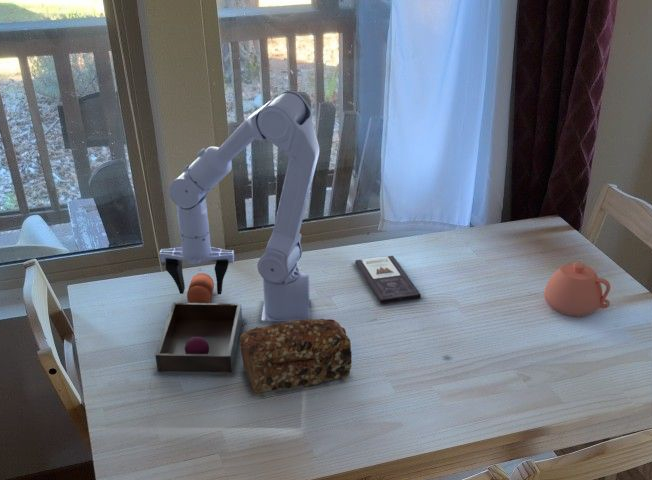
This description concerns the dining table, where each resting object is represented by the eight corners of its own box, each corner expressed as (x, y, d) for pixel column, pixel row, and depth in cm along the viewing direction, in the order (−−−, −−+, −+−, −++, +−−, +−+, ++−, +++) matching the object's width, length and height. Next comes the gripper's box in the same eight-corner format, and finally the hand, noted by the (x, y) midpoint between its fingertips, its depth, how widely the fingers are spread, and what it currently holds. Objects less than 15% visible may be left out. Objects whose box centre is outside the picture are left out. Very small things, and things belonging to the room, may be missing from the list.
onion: (211, 352, 157) (209, 332, 154) (208, 365, 153) (206, 345, 150) (188, 351, 156) (185, 332, 154) (184, 365, 153) (181, 345, 150)
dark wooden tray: (242, 321, 167) (241, 303, 164) (232, 374, 152) (230, 356, 150) (175, 320, 166) (172, 302, 164) (158, 373, 151) (155, 355, 149)
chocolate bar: (380, 299, 174) (355, 260, 187) (380, 303, 174) (355, 264, 188) (420, 294, 177) (392, 255, 190) (420, 298, 177) (392, 259, 191)
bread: (253, 398, 147) (250, 352, 141) (240, 365, 155) (236, 320, 149) (353, 380, 152) (354, 335, 146) (336, 349, 160) (336, 305, 154)
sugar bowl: (553, 286, 184) (561, 245, 178) (614, 304, 179) (624, 262, 173) (534, 311, 175) (541, 268, 169) (597, 330, 170) (607, 287, 164)
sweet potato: (193, 288, 176) (191, 268, 173) (216, 288, 176) (214, 269, 173) (186, 312, 169) (183, 291, 166) (210, 312, 169) (208, 291, 166)
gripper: (153, 240, 159) (162, 301, 168) (229, 241, 160) (234, 302, 168) (160, 224, 165) (168, 283, 173) (233, 225, 166) (238, 284, 174)
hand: (201, 291), depth 171 cm, fingers open, 7 cm apart
